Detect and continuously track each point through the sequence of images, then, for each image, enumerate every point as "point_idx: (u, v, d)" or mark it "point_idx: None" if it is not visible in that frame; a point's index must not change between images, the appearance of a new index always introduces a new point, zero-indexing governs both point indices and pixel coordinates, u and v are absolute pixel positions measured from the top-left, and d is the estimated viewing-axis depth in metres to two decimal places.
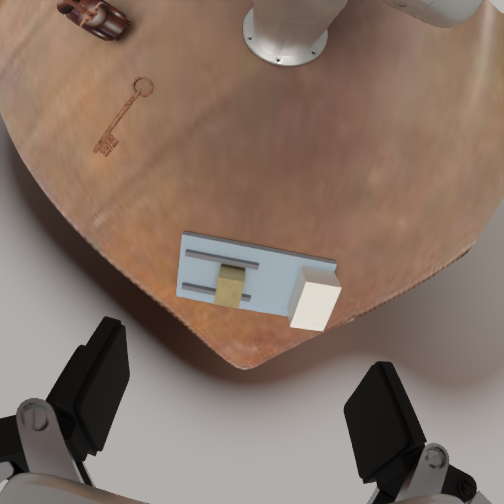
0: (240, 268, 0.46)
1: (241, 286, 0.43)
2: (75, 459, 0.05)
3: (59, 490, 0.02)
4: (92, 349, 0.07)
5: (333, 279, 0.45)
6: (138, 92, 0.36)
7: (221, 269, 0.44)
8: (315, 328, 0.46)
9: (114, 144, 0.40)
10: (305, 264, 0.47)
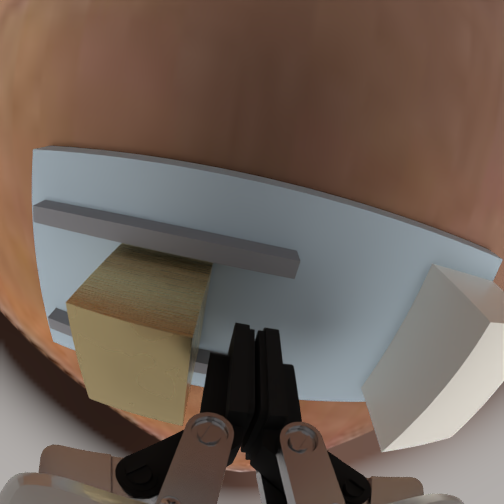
0: (191, 264, 0.11)
1: (179, 356, 0.08)
2: (227, 464, 0.07)
3: (59, 490, 0.02)
4: (241, 354, 0.08)
5: None
6: None
7: (106, 266, 0.09)
8: (439, 437, 0.11)
9: None
10: (443, 257, 0.12)
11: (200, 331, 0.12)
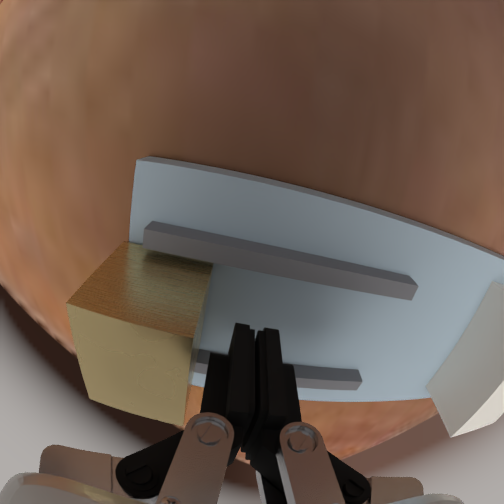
0: (191, 265, 0.11)
1: (180, 356, 0.08)
2: (227, 464, 0.07)
3: (59, 490, 0.02)
4: (242, 354, 0.08)
5: None
6: None
7: (106, 266, 0.09)
8: (487, 422, 0.12)
9: None
10: (499, 275, 0.12)
11: None
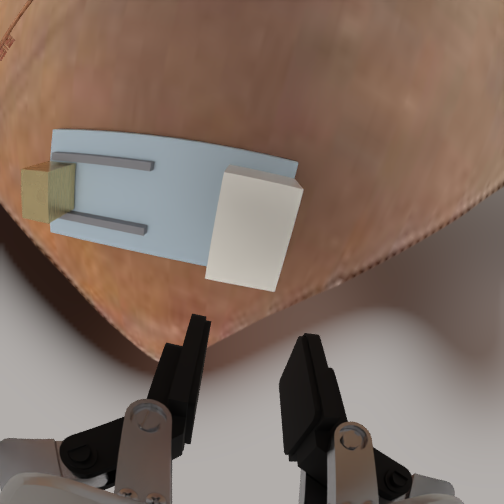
0: (66, 164, 0.23)
1: (45, 180, 0.20)
2: (174, 455, 0.06)
3: (59, 490, 0.02)
4: (191, 345, 0.08)
5: (289, 181, 0.23)
6: None
7: (38, 164, 0.22)
8: (258, 284, 0.24)
9: (9, 43, 0.18)
10: (236, 160, 0.25)
11: (69, 194, 0.24)
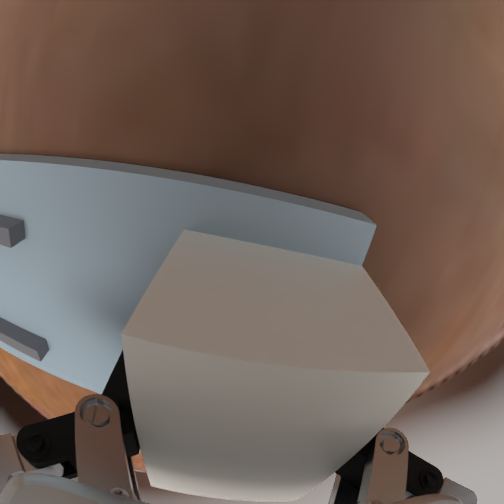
0: None
1: None
2: (130, 453, 0.06)
3: (59, 490, 0.02)
4: None
5: (367, 307, 0.07)
6: None
7: None
8: (262, 499, 0.08)
9: None
10: (204, 218, 0.09)
11: None
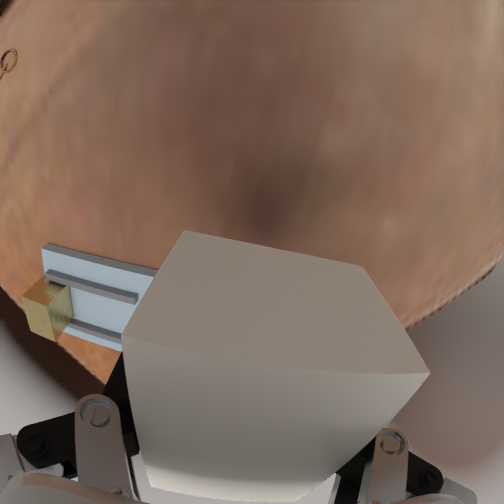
0: (59, 285, 0.26)
1: (46, 312, 0.23)
2: (130, 453, 0.06)
3: (59, 490, 0.02)
4: None
5: (367, 308, 0.07)
6: (3, 68, 0.17)
7: (34, 285, 0.25)
8: (262, 499, 0.08)
9: None
10: None
11: (68, 309, 0.28)
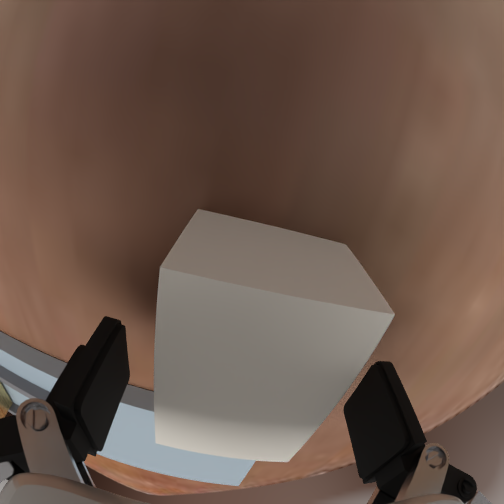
0: None
1: None
2: (75, 459, 0.05)
3: (59, 490, 0.02)
4: (92, 349, 0.07)
5: (345, 268, 0.09)
6: None
7: None
8: (257, 457, 0.10)
9: None
10: None
11: (1, 397, 0.14)
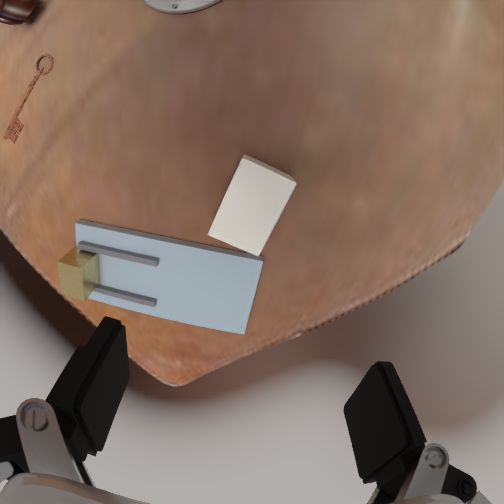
0: (90, 253, 0.34)
1: (79, 273, 0.31)
2: (75, 459, 0.05)
3: (59, 490, 0.02)
4: (92, 349, 0.07)
5: (286, 176, 0.30)
6: (40, 70, 0.25)
7: (68, 253, 0.32)
8: (247, 248, 0.31)
9: (19, 128, 0.28)
10: (218, 260, 0.35)
11: (96, 275, 0.35)
